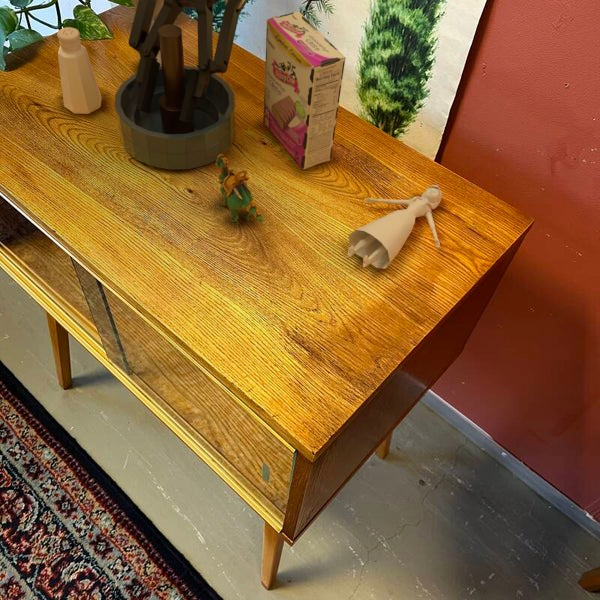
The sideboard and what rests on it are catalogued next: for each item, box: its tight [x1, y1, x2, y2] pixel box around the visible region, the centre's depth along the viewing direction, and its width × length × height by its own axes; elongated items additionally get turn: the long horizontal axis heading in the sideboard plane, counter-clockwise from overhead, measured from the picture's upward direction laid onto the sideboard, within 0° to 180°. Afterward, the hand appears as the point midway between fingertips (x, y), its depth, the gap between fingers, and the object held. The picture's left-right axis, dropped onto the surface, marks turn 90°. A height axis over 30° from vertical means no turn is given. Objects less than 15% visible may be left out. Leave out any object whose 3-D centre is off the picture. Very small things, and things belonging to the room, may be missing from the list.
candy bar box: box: [262, 10, 347, 171], centre depth 87 cm, size 11×5×16 cm, turn 32°
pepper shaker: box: [56, 26, 103, 115], centre depth 91 cm, size 5×5×11 cm
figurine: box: [214, 154, 265, 225], centre depth 81 cm, size 3×12×8 cm, turn 31°
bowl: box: [113, 64, 236, 171], centre depth 90 cm, size 16×16×6 cm
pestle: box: [158, 24, 195, 134], centre depth 86 cm, size 4×4×15 cm
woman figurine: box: [347, 184, 443, 270], centre depth 83 cm, size 12×4×18 cm
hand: (163, 116), depth 86 cm, fingers open, 5 cm apart
